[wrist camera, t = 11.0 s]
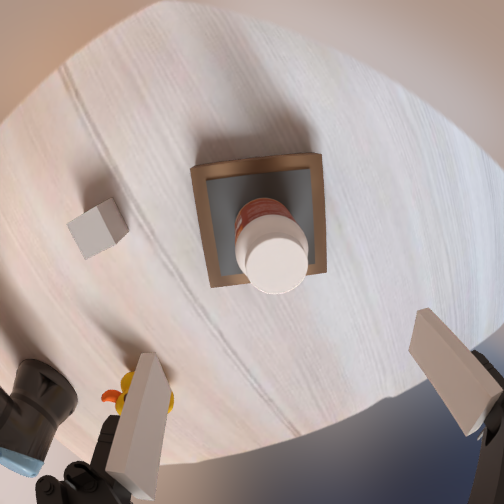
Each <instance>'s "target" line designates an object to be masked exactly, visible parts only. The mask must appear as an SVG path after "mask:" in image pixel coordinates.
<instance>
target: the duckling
mask: <svg viewBox="0 0 504 504" xmlns="http://www.w3.org/2000/svg"><path fill="white" fill-rule="evenodd" d="M134 373H135V371H133V372H129V373H127V374H126V375H124V377H123V378H122V380H121V389H122V392H123V393H121V392H119V391H117V390H108V391H106V392H105V393H103V394H102V397H101V400H102V401H103V402H105V401H111V402H115V403H116V404H115V408H116V411H117V413H118V414H119V415H120V416H121V413H122V409H123V406H124V403H125V400H126V397H127V394H128V391H129V388H130V385H131V382H132V379H133V376H134ZM173 404H174V395H173V392H171V397H170V402H169V408H168V413H169V412H170V411H171V410H172V408H173Z"/></svg>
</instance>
